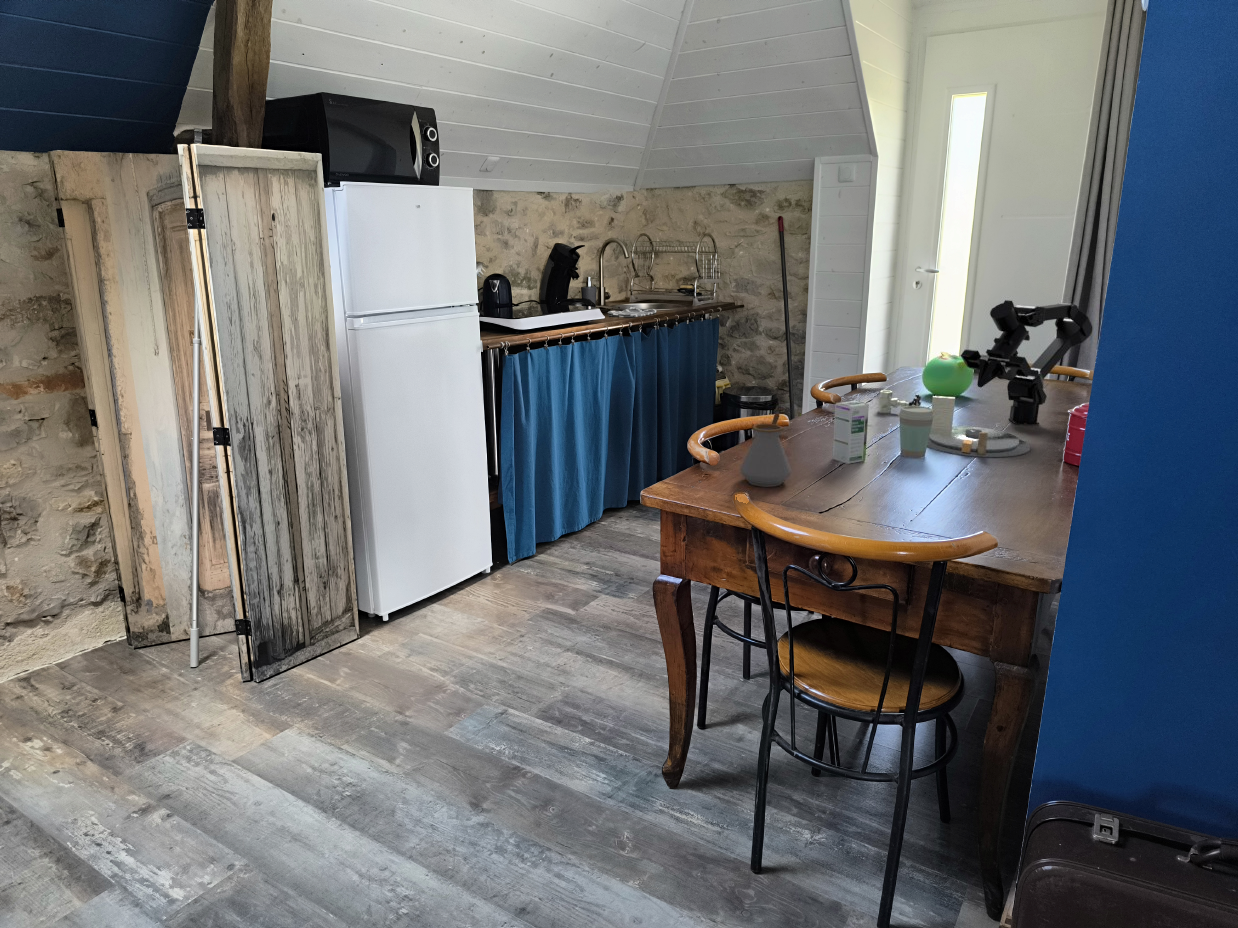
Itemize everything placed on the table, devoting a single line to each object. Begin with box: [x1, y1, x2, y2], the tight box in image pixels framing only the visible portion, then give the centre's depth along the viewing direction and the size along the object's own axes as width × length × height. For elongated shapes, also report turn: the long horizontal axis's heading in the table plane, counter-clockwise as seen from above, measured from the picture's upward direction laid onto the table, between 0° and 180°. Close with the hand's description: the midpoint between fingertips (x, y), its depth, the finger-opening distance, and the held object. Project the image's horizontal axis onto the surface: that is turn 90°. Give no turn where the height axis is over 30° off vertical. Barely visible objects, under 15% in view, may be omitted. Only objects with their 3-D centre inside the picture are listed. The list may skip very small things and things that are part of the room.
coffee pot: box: [739, 404, 792, 488], centre depth 191 cm, size 21×12×15 cm, turn 159°
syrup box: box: [832, 400, 870, 465], centre depth 203 cm, size 6×6×14 cm
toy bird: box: [921, 351, 976, 397], centre depth 277 cm, size 18×17×15 cm
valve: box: [877, 389, 922, 414], centre depth 254 cm, size 7×7×12 cm
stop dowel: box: [977, 432, 988, 456], centre depth 207 cm, size 2×2×6 cm
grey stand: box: [929, 395, 1020, 453], centre depth 217 cm, size 22×24×11 cm
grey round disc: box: [927, 438, 1031, 459], centre depth 219 cm, size 28×28×1 cm
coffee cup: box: [897, 405, 935, 459], centre depth 207 cm, size 8×8×12 cm
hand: (979, 386), depth 227 cm, fingers closed
